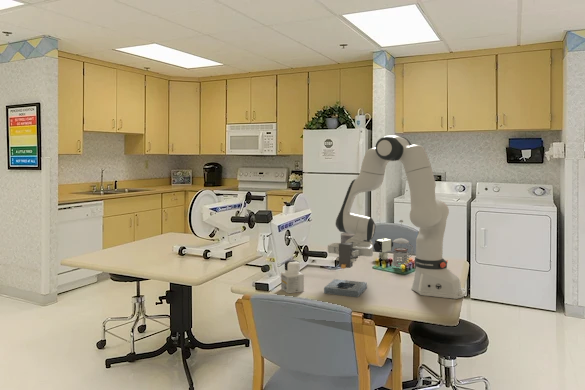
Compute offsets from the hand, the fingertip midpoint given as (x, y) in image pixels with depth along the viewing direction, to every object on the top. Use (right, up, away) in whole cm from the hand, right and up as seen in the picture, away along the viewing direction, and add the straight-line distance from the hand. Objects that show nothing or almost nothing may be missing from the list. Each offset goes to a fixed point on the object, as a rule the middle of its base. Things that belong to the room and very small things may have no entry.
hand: (345, 253), depth 199 cm
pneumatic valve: (+28, -11, +61) cm, 68 cm away
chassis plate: (+1, -17, +2) cm, 17 cm away
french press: (+35, -13, +42) cm, 56 cm away
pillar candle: (+10, -11, +66) cm, 67 cm away
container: (-23, -17, +4) cm, 29 cm away
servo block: (0, -6, +1) cm, 6 cm away
